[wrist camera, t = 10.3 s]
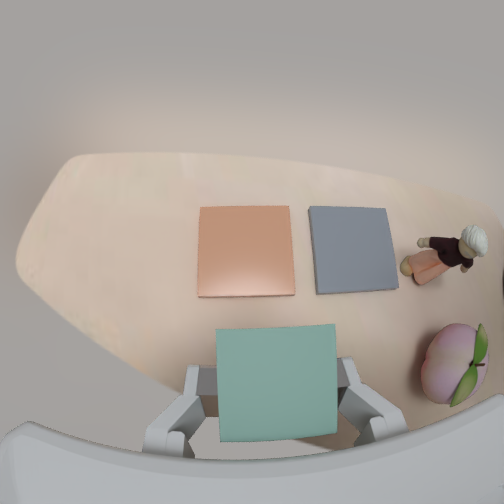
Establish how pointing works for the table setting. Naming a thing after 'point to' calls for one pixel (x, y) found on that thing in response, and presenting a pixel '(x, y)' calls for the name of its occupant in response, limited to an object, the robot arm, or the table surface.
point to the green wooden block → (276, 383)
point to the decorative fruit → (455, 364)
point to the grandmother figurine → (445, 254)
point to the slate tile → (352, 250)
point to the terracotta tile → (245, 252)
